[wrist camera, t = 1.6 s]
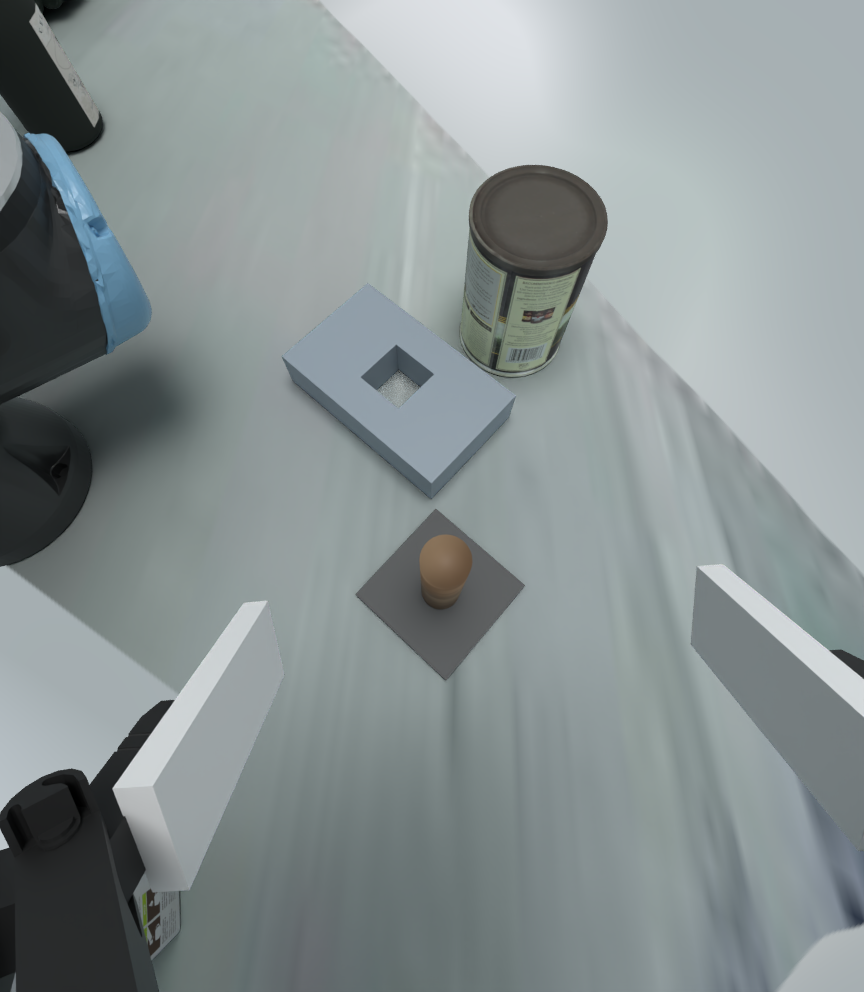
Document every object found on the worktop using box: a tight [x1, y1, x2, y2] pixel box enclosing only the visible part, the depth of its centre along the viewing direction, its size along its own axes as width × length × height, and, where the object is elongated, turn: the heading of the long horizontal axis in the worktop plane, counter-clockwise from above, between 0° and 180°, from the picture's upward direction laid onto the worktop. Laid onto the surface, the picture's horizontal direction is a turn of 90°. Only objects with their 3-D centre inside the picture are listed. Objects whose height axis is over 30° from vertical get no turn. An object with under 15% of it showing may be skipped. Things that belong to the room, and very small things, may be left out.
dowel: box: [419, 535, 472, 609], centre depth 36 cm, size 3×3×12 cm
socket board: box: [282, 283, 516, 499], centre depth 46 cm, size 18×11×4 cm, turn 48°
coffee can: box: [460, 165, 608, 377], centre depth 44 cm, size 10×10×14 cm
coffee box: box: [10, 872, 180, 992], centre depth 27 cm, size 9×6×16 cm
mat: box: [356, 509, 525, 680], centre depth 42 cm, size 10×10×1 cm
